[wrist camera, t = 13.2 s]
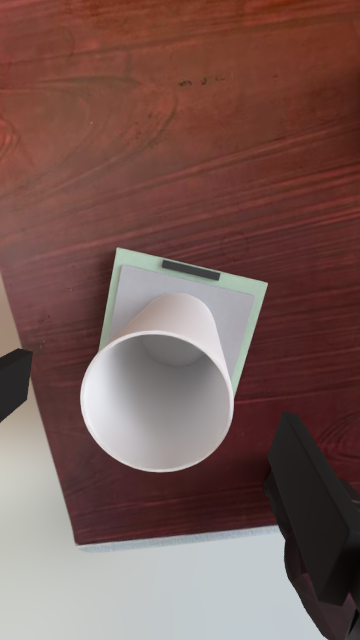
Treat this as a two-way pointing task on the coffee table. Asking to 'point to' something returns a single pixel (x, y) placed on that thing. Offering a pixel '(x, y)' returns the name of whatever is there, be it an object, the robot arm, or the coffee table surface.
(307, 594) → the figurine
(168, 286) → the scale
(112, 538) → the coffee table surface
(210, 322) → the cup
